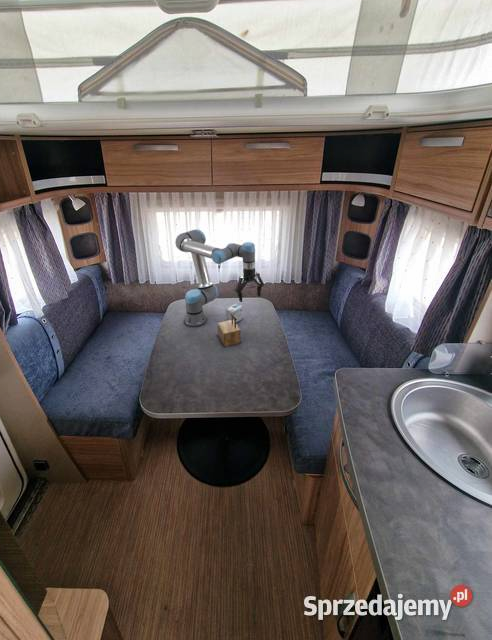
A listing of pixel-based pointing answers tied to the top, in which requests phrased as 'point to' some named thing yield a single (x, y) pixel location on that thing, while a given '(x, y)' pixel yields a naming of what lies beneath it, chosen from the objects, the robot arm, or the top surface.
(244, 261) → the robot arm
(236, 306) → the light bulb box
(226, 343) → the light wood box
